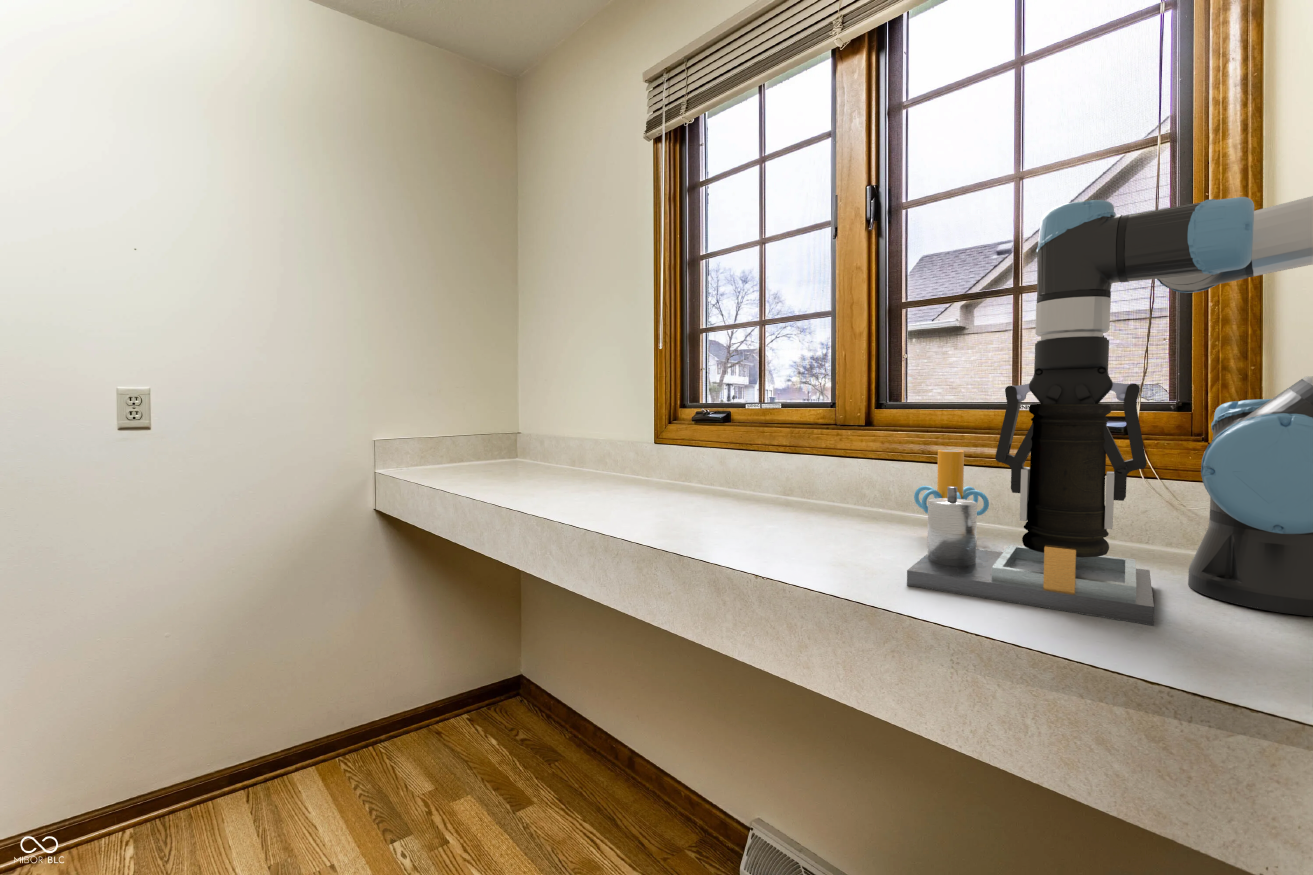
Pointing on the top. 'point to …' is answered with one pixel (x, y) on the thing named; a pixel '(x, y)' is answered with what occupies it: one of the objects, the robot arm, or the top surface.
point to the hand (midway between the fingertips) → (1065, 522)
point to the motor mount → (1027, 570)
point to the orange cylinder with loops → (950, 481)
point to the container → (1067, 478)
